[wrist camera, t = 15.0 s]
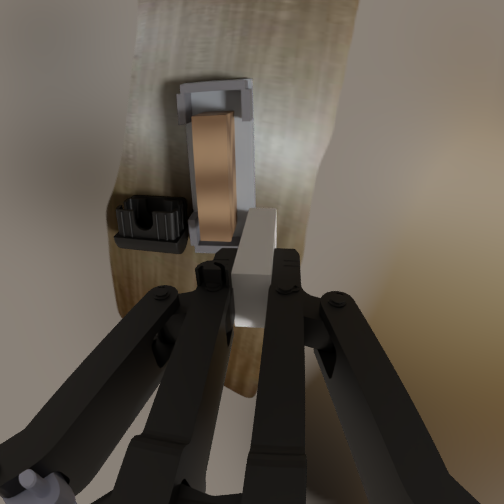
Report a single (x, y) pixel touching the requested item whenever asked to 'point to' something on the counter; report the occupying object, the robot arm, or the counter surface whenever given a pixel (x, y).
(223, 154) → the wooden block
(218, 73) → the counter surface
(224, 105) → the holder
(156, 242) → the end cap
